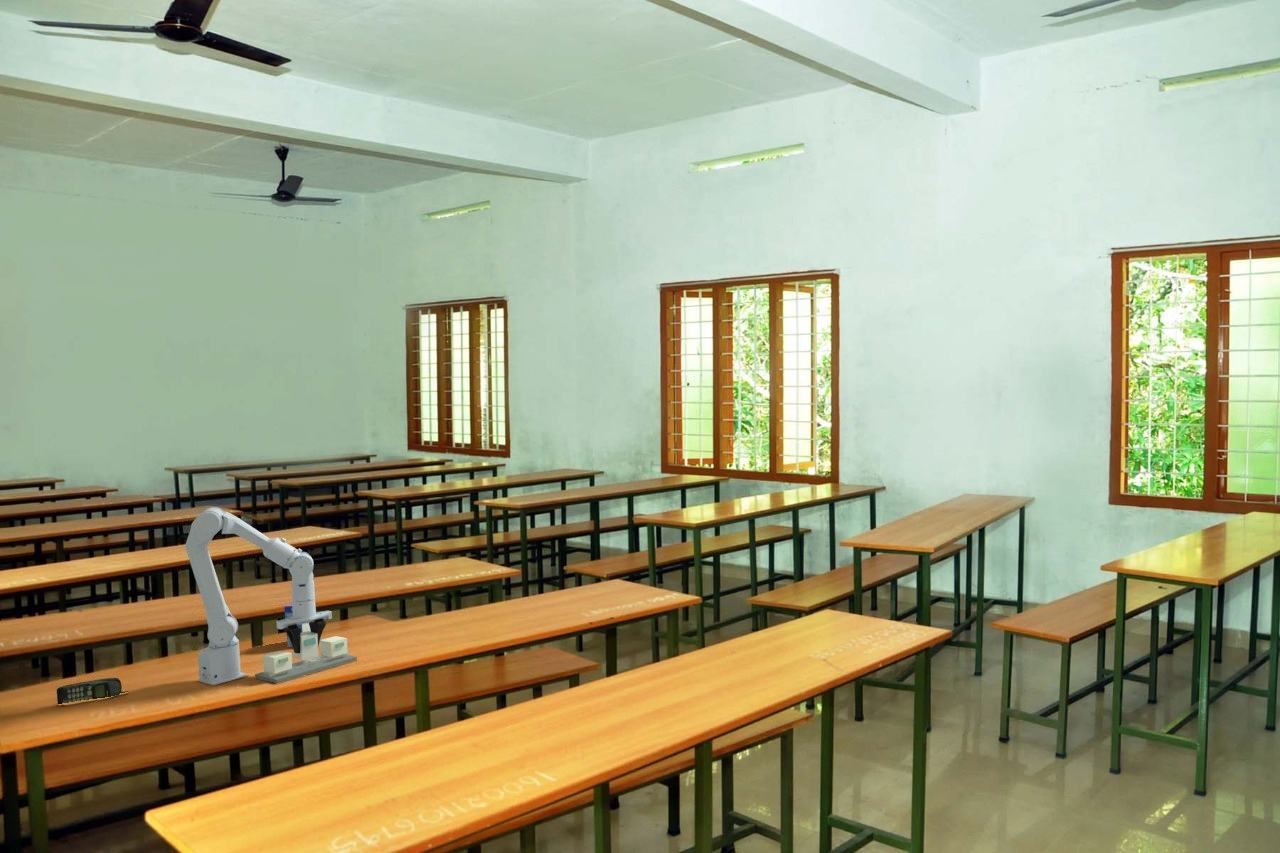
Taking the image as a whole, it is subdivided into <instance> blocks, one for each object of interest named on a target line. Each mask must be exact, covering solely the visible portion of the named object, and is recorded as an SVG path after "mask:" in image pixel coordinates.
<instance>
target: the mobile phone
mask: <svg viewBox="0 0 1280 853" xmlns="http://www.w3.org/2000/svg"><path fill="white" fill-rule="evenodd" d="M122 687H123V686H122V682H121V680H120V678H118V677H107V678H100V679H94V680H87V681H83V682H76V683H70V684H66V685H62V686H59V687H58V688H57V689H56V699H57V705H58V704H62V703H69V702H75V701H81V700H89V699H97V698H105V697H111V696H115V695H119V694H120V693H125V692H128V693H129V691H128V690H127V691H126V690H125V691H123V690H122V689H123V688H122ZM119 696H120V695H119ZM115 697H116V696H115Z"/></svg>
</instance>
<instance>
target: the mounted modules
mask: <svg viewBox="0 0 1280 853" xmlns="http://www.w3.org/2000/svg"><path fill="white" fill-rule="evenodd" d="M319 647H320V649H319V650H320V656H321V655H324V656H328V657H335V656H338V655H342V654H345V653H348V651H349V650H348V638H347V637H342V636H337V635H334V636H331V637H328V638H323V639H320V642H319ZM292 653H293V652H287V651H284V650H278V651H274V652H270V653H266V654H263V655H262V662H263V663H262V664H263V666H262V667H263V672H264V671H267V672H271V673H279V672H282V671H286V670H289V669H292V664H293V658H292V657H293V654H292Z"/></svg>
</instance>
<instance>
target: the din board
mask: <svg viewBox="0 0 1280 853" xmlns="http://www.w3.org/2000/svg"><path fill="white" fill-rule="evenodd" d="M356 661H358V657H357V656H355V655H350V654H349V655H348V656H345V657H341V658H338V659H334V660H331V661H327V662H324V663H320V664H317V665H313V666H310V667H307V668H303V669H300V670H296V671H293V672H289V673H286V674H282V675H279V676H275V677H272V678H268V677H264V676H262V672H263V671H262V672H258V673H255V674H254V679H257V680H261V681H266V682H269V683H272V682H273V684H276V683H279V684H281V683H280V682H282V683H285V682H289V681H291V679H292V680H296V679H299V678H302V677H305V676H304V675H306V676H308V674H309V675H312V673H313V674H316V673H319V672H322V670H323V671H326V670H329V669H333V668H336V667H339V666H343V665H346V664H349V663H353V662H356ZM318 671H319V672H318ZM315 672H316V673H315ZM298 677H299V678H298ZM295 678H296V679H295ZM288 680H289V681H288ZM284 681H285V682H284Z"/></svg>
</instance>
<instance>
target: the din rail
mask: <svg viewBox="0 0 1280 853" xmlns="http://www.w3.org/2000/svg"><path fill="white" fill-rule="evenodd" d="M348 655H350V651H349V650H348V653H345V654H342V655H338V656H335V657H328V656H324V655H321V654H320V655H319V656H317V657H313V658H309V659H304V660H301V661H297V662H294V663H293V662H292V669H289V670H286V671H282V672H279V673H271V672H267V671H264V670H263V671H262V676H264V677H268V678H272V677H275V676H279V675H282V674H286V673H289V672H293V671H296V670H300V669H303V668H307V667H310V666H313V665H317V664H320V663H324V662H327V661H331V660H334V659H338V658H341V657H345V656H348Z"/></svg>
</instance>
